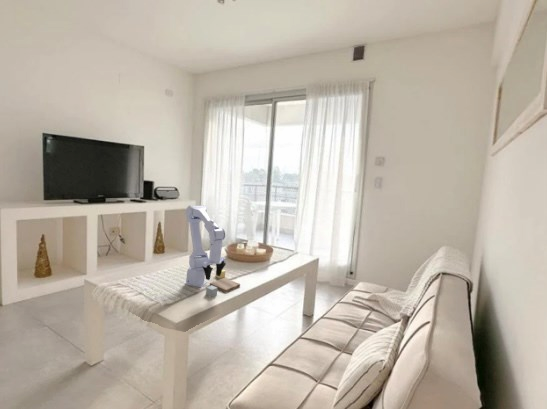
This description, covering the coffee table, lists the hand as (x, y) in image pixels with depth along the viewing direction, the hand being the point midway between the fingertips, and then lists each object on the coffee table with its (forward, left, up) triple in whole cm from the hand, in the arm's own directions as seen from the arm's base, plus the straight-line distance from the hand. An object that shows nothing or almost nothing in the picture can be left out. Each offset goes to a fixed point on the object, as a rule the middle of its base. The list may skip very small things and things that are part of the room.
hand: (213, 277), depth 157 cm
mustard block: (-4, +25, -10) cm, 27 cm away
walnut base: (+3, +13, -9) cm, 16 cm away
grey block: (0, 0, -10) cm, 10 cm away
